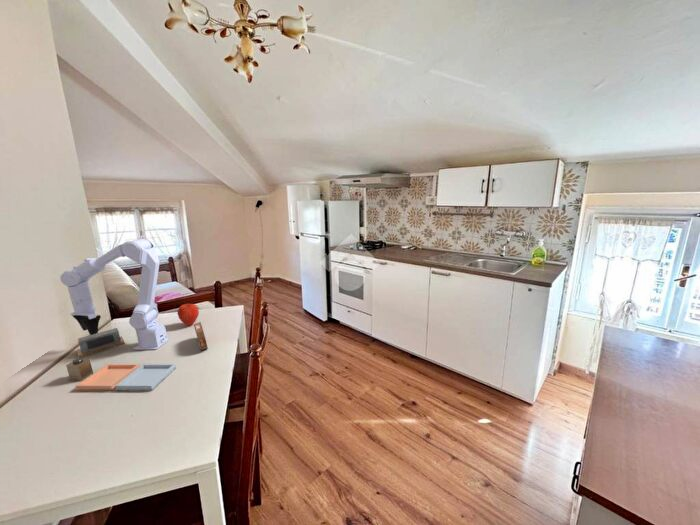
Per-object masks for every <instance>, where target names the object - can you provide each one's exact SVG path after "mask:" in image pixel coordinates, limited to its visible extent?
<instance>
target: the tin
mask: <svg viewBox="0 0 700 525" xmlns="http://www.w3.org/2000/svg"><path fill="white" fill-rule="evenodd" d="M193 325H194V326H193V328H194V329H195V334H196V338H197V341H198V346H199V349H200V350H201V351H203V350H206V349H208V344H207V340H206V336H205V332H204V328H203V326H202V322H201V321H199V322H197V323H194V324H193Z"/></svg>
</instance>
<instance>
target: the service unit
mask: <svg viewBox="0 0 700 525" xmlns="http://www.w3.org/2000/svg"><path fill="white" fill-rule="evenodd" d="M77 340H78V341H77V342H78V345H79V348H78V349H76V350H77V355H78V358H85V357H87V356H90V355H91V356H92V355H93V354H97V353H100V352H104V351H107V350H110V349H112V348H116V347H118V346H122V345H126V343H125V340H124V338H123V337H122V335H121V336H120V333H119V330H118V328H117V327H115V328H111V329H108V330H103V331H100V332H98V333H96V334H93V335H90V334H89V335H85V336H82V337H78V338H77Z"/></svg>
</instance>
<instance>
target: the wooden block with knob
mask: <svg viewBox="0 0 700 525" xmlns="http://www.w3.org/2000/svg"><path fill="white" fill-rule="evenodd" d="M66 369H67V372H68V375H69V380H70V381H71V382H82V381H83V380H85V379H86V378H88V377H89V376H91V375H93V374H94V370H93V367H92V363H91V359H90V358H89V357H88V358H87V357H81V358H79V357H78V358H75V359H72V361H70V362H69V363H67V364H66Z"/></svg>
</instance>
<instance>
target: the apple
mask: <svg viewBox="0 0 700 525" xmlns="http://www.w3.org/2000/svg"><path fill="white" fill-rule="evenodd" d="M177 315H178V319H179V320H180V321H181V322H182V323H183V324H184V325H185V326H186V327H187V326H188V327H193V325H194V324H195V322H196V321H197V319H198V317H199V315H200V311H199V308H198V306H197V305H195V304H194V303H184V304H182V305H180V306H179V307H178V309H177Z"/></svg>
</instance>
